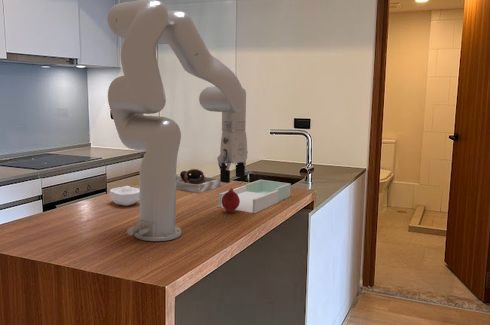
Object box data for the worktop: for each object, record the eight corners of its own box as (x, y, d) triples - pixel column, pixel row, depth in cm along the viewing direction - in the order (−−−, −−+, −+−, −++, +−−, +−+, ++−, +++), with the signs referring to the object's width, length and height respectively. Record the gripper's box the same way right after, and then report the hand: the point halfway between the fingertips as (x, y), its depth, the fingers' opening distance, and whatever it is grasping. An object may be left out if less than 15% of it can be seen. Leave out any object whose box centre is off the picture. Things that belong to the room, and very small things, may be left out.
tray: (276, 202, 166) (277, 188, 165) (244, 197, 172) (245, 184, 172) (290, 196, 177) (290, 183, 176) (260, 191, 183) (260, 179, 182)
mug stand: (198, 193, 177) (198, 185, 176) (158, 186, 186) (159, 179, 185) (221, 186, 192) (221, 179, 191) (183, 180, 200) (184, 173, 200)
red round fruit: (237, 215, 147) (237, 190, 146) (219, 213, 148) (220, 189, 147) (240, 211, 152) (241, 187, 151) (223, 209, 153) (224, 186, 152)
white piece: (254, 216, 150) (255, 199, 150) (218, 209, 157) (218, 193, 156) (277, 205, 166) (278, 190, 165) (243, 199, 173) (244, 185, 172)
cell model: (137, 199, 163) (137, 180, 162) (143, 207, 152) (144, 187, 151) (107, 201, 159) (107, 181, 158) (112, 209, 148) (112, 189, 147)
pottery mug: (209, 186, 192) (209, 171, 187) (197, 200, 186) (196, 184, 180) (186, 176, 196) (185, 161, 191) (172, 189, 190) (171, 174, 185)
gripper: (230, 129, 137) (229, 186, 140) (256, 125, 152) (255, 176, 155) (208, 128, 140) (208, 183, 143) (236, 124, 155) (235, 174, 158)
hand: (232, 179), depth 149 cm, fingers open, 9 cm apart
